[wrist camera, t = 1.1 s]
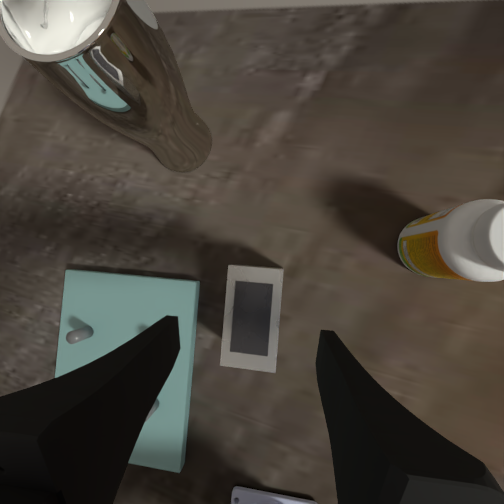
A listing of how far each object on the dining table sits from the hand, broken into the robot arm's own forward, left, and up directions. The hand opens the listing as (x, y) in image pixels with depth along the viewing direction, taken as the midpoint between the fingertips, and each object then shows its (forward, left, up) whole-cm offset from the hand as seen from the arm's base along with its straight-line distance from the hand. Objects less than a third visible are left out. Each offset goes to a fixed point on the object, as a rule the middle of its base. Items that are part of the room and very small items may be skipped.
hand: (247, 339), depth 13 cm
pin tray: (-8, +14, -12) cm, 20 cm away
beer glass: (+15, +10, -12) cm, 22 cm away
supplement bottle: (+6, -14, -12) cm, 20 cm away
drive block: (-1, +1, -12) cm, 12 cm away
